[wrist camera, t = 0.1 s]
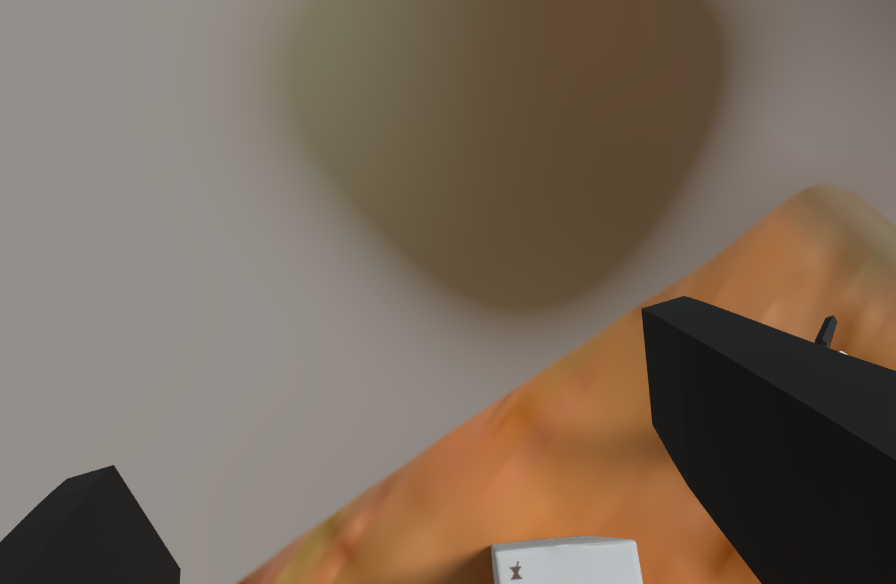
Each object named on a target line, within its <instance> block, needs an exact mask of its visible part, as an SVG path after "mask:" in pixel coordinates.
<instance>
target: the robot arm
mask: <svg viewBox="0 0 896 584" xmlns="http://www.w3.org/2000/svg"><path fill="white" fill-rule="evenodd" d="M642 320H643V330H644V341H645V351H646V361H647V372H648V382H649V393H650V403H651V414H652V424H653V426H654V428H655V430H656V432H657V433H658V435H659V437H660V439H661V441H662V442H663V444H664V446H665V448H666V449H667V451H668V453H669V455H670V456H671V458H672V460H673V462H674V463H675V465H676V467H677V468H678V470H679V472H680V473H681V475H682V477H683V478H684V480H685V482H686V483H687V485H688V487H689V488H690V489H691V491H692V492H693V493H694V495H695V496H696V498H697V499H698V500H699V502H700V503H701V504H702V506H703V507H704V508H705V510H706V511H707V512H708V514H709V515H710V516H711V518H712V519H713V520H714V522H715V523H716V524H717V526H718V527H719V528H720V530H721V531H722V532H723V534H724V535H725V536H726V538H727V539H728V540H729V541H730V543H731V544H732V545H733V547H734V548H735V549H736V551H737V552H738V553H739V555H740V556H741V557H742V558H743V560H744V561H745V562H746V564H747V565H748V566H749V568H750V569H751V570H752V572H753V573H754V574H755V575H756V577H757V578H758V579H759V581H760V582H761V583H762V584H896V371H894V370H891V369H888V368H885V367H882V366H879V365H876V364H873V363H870V362H867V361H864V360H861V359H858V358H855V357H852V356H849V355H846V354H844V353H841V352H838V351H835V350H832V349H829V348H827V347H824V346H821V345H818V344H816V343H813V342H810V341H807V340H805V339H802V338H799V337H796V336H794V335H791V334H788V333H786V332H783V331H780V330H778V329H775V328H772V327H770V326H767V325H764V324H762V323H759V322H756V321H754V320H751V319H748V318H746V317H743V316H740V315H738V314H735V313H732V312H730V311H727V310H724V309H722V308H719V307H716V306H713V305H710V304H708V303H705V302H702V301H699V300H696V299H692V298H689V297H686V296H683V297H679V298H676V299H672V300H669V301H666V302H662V303H659V304H656V305H652V306H649V307H645V308H642ZM0 584H180V568H179V566H178V565H177V563H176V562H175V560H174V559H173V557H172V556H171V554H170V552H169V551H168V549H167V548H166V546H165V545H164V543H163V541H162V540H161V538H160V537H159V535H158V534H157V532H156V530H155V529H154V527H153V526H152V524H151V523H150V521H149V519H148V518H147V516H146V515H145V513H144V512H143V510H142V509H141V507H140V505H139V504H138V502H137V501H136V499H135V498H134V496H133V495H132V493H131V491H130V490H129V489H128V487H127V485H126V484H125V482H124V481H123V479H122V477H121V476H120V474H119V473H118V471H117V470H116V468H115V466H114V465H112V466H109V467H106V468H102V469H99V470H95V471H92V472H89V473H85V474H82V475H78V476H75V477H72V478H68V479H66V480H65V481H64V482H63V483H62V484H60V485H59V486H58V487H57V488H56V489H55V490H54V491H52V492H51V493H50V494H49V495H48V496H47V497H46V498H45V499H44V500H43V501H42V502H40V503H39V504H38V505H37V506H36V507H35V508H34V509H33V510H32V511H31V512H30V513H29V514H28V515H27V516H26V517H25V518H24V519H23V520H22V521H21V522H20V523H19V524H18V525H17V526H16V527H15V528H14V529H13V530H12V531H11V532H10V533H9V534H8V535H7V536H6V537H5V538H4V539H3V540H2V541H1V542H0Z"/></svg>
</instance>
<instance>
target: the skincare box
mask: <svg viewBox="0 0 896 584" xmlns="http://www.w3.org/2000/svg"><path fill="white" fill-rule="evenodd" d="M491 555H492V568H493V578H494V584H643V581H642V575H641V569H640V563H639V557H638V551H637V545H636V542H635V541H634V540H630V539H620V538H608V537H594V536H576V537H561V538H550V539H539V540H529V541H519V542H509V543H499V544H492V545H491Z"/></svg>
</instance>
